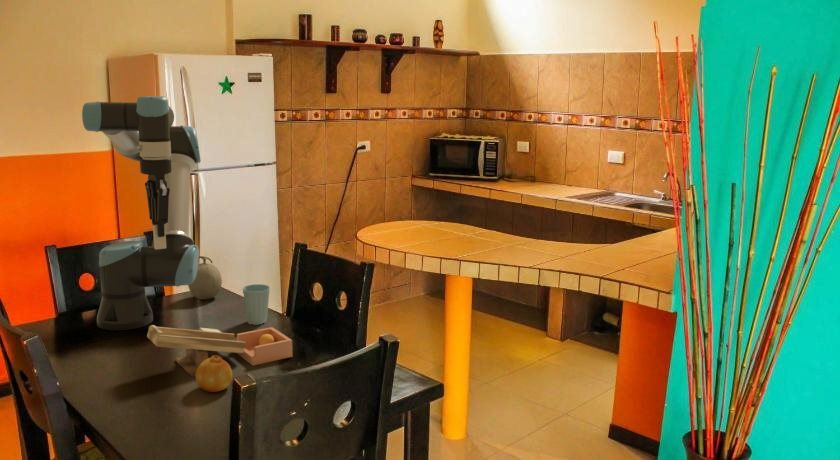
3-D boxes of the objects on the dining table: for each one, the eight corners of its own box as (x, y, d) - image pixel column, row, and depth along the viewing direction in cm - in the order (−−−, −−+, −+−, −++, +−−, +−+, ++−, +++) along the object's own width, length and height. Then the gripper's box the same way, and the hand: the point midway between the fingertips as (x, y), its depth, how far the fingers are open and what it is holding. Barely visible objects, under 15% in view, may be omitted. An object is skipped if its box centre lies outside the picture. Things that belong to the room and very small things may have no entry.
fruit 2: (244, 374, 173) (226, 346, 172) (228, 391, 166) (209, 361, 165) (218, 387, 176) (200, 359, 175) (201, 404, 169) (182, 375, 168)
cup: (273, 324, 216) (272, 289, 214) (246, 327, 213) (245, 292, 210) (267, 316, 222) (266, 283, 220) (241, 319, 219) (240, 285, 217)
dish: (233, 350, 194) (233, 334, 194) (272, 342, 201) (272, 327, 200) (252, 365, 185) (252, 348, 184) (292, 356, 191) (292, 340, 190)
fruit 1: (228, 294, 244) (227, 249, 241) (213, 304, 233) (211, 258, 230) (199, 291, 246) (197, 247, 243) (182, 301, 235) (180, 256, 232)
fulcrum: (175, 360, 187) (174, 342, 186) (202, 355, 191) (202, 337, 190) (191, 376, 178) (191, 357, 177) (220, 370, 182) (219, 351, 181)
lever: (136, 326, 187) (139, 314, 187) (218, 333, 200) (220, 322, 200) (156, 346, 173) (160, 333, 173) (243, 352, 187) (246, 340, 187)
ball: (263, 329, 196) (273, 337, 198) (253, 341, 195) (263, 349, 197) (269, 333, 192) (279, 341, 195) (259, 346, 191) (270, 354, 194)
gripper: (133, 156, 191) (138, 245, 196) (147, 161, 181) (153, 255, 186) (162, 154, 195) (166, 241, 200) (178, 159, 185) (182, 251, 190)
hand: (160, 248), depth 193 cm, fingers closed
